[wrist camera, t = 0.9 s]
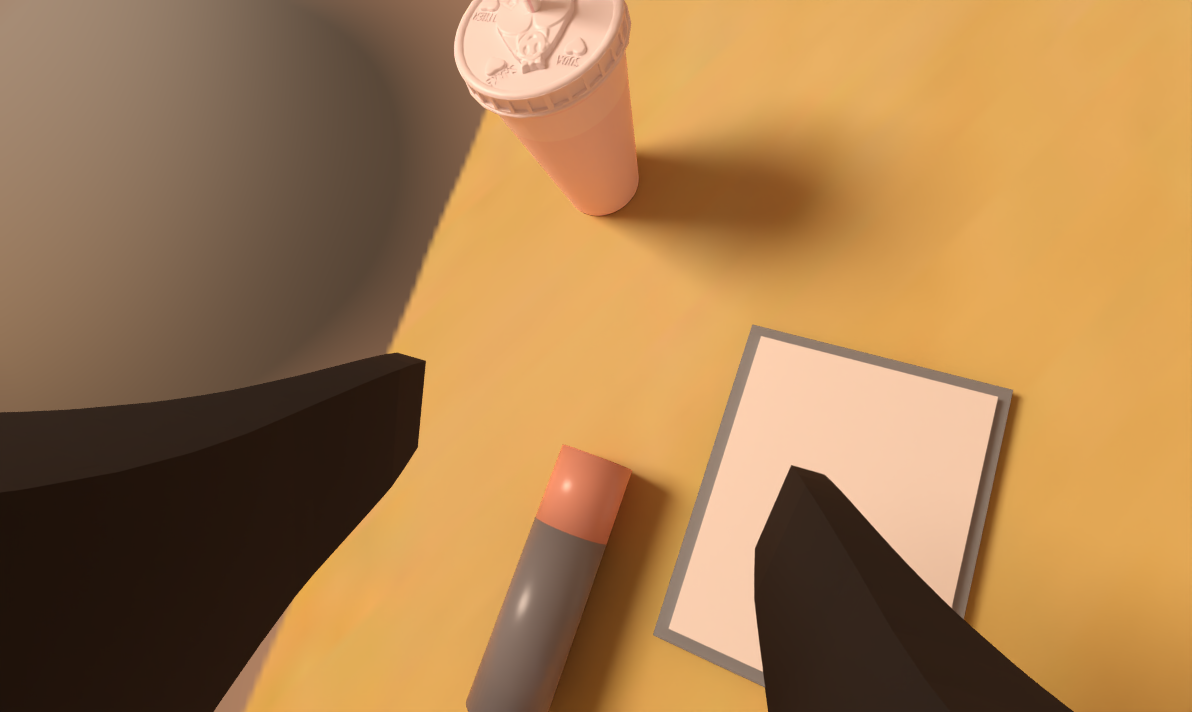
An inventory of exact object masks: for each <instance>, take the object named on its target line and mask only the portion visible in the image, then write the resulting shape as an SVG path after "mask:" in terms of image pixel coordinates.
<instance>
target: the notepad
mask: <svg viewBox="0 0 1192 712" xmlns="http://www.w3.org/2000/svg"><path fill="white" fill-rule="evenodd" d="M1012 393H1013V390H1011V389H1007V388H1003V387H999V386H995V385H991V384H987V383H983V382H979V381H975V380H971V379H967V378H963V377H959V376H955V375H951V374H947V373H943V372H939V371H935V370H931V369H927V368H923V367H919V366H915V365H911V364H907V363H903V362H899V361H896V360H892V359H888V358H884V357H880V356H876V355H872V354H868V353H864V352H860V351H856V350H852V349H848V348H844V347H840V346H836V345H832V344H828V343H824V342H820V341H816V340H812V339H808V338H804V337H800V336H796V335H792V334H788V333H784V332H780V331H776V330H772V329H768V328H764V327H760V326H756V325H752V328H751V331H750V334H749V337H748V340H747V343H746V346H745V350H744V353H743V356H742V359H741V362H740V365H739V368H738V371H737V374H736V378H735V381H734V384H733V387H732V390H731V393H730V396H729V399H728V402H727V406H726V409H725V412H724V415H723V418H722V421H721V424H720V427H719V431H718V434H717V437H716V440H715V443H714V446H713V449H712V452H711V455H710V459H709V462H708V465H707V468H706V471H705V474H704V477H703V480H702V484H701V487H700V490H699V493H698V496H697V499H696V502H695V505H694V508H693V512H692V515H691V518H690V521H689V524H688V527H687V530H686V533H685V537H684V540H683V543H682V546H681V549H680V552H679V555H678V558H677V561H676V565H675V568H674V571H673V574H672V577H671V580H670V583H669V586H668V589H667V593H666V596H665V599H664V602H663V605H662V608H661V611H660V614H659V618H658V621H657V624H656V627H655V630H654V633H653V635H654V636H656V637H658V638H660V639H663V640H665V641H667V642H669V643H671V644H673V645H675V646H678V647H680V648H682V649H684V650H686V651H688V652H690V653H693V654H695V655H697V656H699V657H701V658H703V659H705V660H708V661H710V662H712V663H714V664H716V665H718V666H720V667H723V668H725V669H727V670H729V671H731V672H733V673H735V674H738V675H740V676H742V677H744V678H746V679H748V680H750V681H753V682H755V683H757V684H759V685H761V686H763V687H765V683H764V675H763V667H762V660H761V652H760V644H759V636H758V628H757V619H756V611H755V602H754V560H755V547H756V545H757V542H758V540H759V538H760V535H761V533H762V531H763V528H764V526H765V524H766V522H767V519H768V517H769V515H770V512H771V510H772V508H773V506H774V503H775V501H776V499H777V496H778V494H779V492H780V490H781V487H782V485H783V483H784V480H785V478H786V476H787V474H788V471H789V469H790V467H791V465H793V466H797V467H800V468H804V469H807V470H811V471H814V472H818V473H821V474H824V475H826V476H827V477H828V478H829V479H830V480H831V481H832V482H833V483H834V484H835V485H836V486H837V487H838V488H839V489H840V490H841V491H842V492H843V494H844V495H845V496H846V497H847V498H848V499H849V500H850V501H851V502H852V503H853V505H854V506H855V507H856V508H857V509H858V510H859V511H860V512H861V514H862V515H863V516H864V517H865V518H866V519H867V520H868V521H869V523H870V524H871V525H872V526H873V527H874V528H875V529H876V530H877V531H878V533H879V534H880V535H881V536H882V537H883V538H884V539H885V540H886V541H887V542H888V544H889V545H890V546H891V547H892V548H893V549H894V550H895V551H896V552H897V553H898V554H899V555H900V556H901V558H902V559H903V560H904V561H905V562H906V563H907V564H908V565H909V566H910V567H911V568H912V569H913V570H914V571H915V572H916V573H917V574H918V575H919V576H920V577H921V578H922V579H923V580H924V581H925V582H926V583H927V584H928V585H929V586H930V587H931V588H932V589H933V590H934V591H935V592H936V593H937V594H938V595H939V596H940V597H941V598H942V599H943V600H944V601H945V602H946V603H947V604H948V605H949V606H950V607H951V608H952V609H953V610H954V611H955V612H956V613H957V614H958V615H959V616H960V617H961V618H963V619H964V616H965V611H966V607H967V602H968V597H969V593H970V588H971V583H972V579H973V574H974V569H975V565H976V560H977V555H978V551H979V546H980V542H981V537H982V532H983V528H984V523H985V518H986V514H987V509H988V504H989V500H990V495H991V490H992V486H993V481H994V476H995V472H996V467H997V463H998V458H999V453H1000V449H1001V444H1002V439H1003V435H1004V430H1005V425H1006V421H1007V416H1008V411H1009V407H1010V402H1011V397H1012Z"/></svg>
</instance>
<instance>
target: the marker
mask: <svg viewBox="0 0 1192 712" xmlns="http://www.w3.org/2000/svg"><path fill="white" fill-rule="evenodd" d="M631 473H632V470H630V469H628V468H626V467H623V466H621V465H618V464H616V463H613V462H611V461H608V460H605V459H603V458H600V457H597V456H595V455H592V454H589V453H587V452H584V451H581V450H578V449H575V448H573V447H570V446H567V445H562V448H561V451H560V453H559V456H558V459H557V461H556V464H555V466H554V469H553V472H552V474H551V477H550V480H549V482H548V485H547V488H546V490H545V493H544V496H543V498H542V501H541V504H540V506H539V509H538V512H537V514H536V517H535V520H534V522H533V525H532V528H531V530H530V533H529V536H528V538H527V541H526V544H525V546H524V549H523V552H522V554H521V557H520V560H519V562H518V565H517V568H516V570H515V573H514V575H513V578H512V581H511V583H510V586H509V589H508V591H507V594H506V597H505V599H504V602H503V605H502V607H501V610H500V613H499V615H498V618H497V621H496V623H495V626H494V629H493V631H492V634H491V637H490V639H489V642H488V645H487V647H486V650H485V653H484V655H483V658H482V661H481V663H480V666H479V669H478V671H477V674H476V676H475V679H474V682H473V684H472V687H471V690H470V692H469V695H468V698H467V701H466V707H467V709H468V711H469V712H548V711H549V709H550V706H551V703H552V700H553V697H554V694H555V691H556V688H557V686H558V683H559V680H560V677H561V674H562V671H563V668H564V665H565V663H566V660H567V657H568V654H569V651H570V648H571V645H572V642H573V640H574V637H575V634H576V631H577V628H578V625H579V622H580V619H581V617H582V614H583V611H584V608H585V605H586V602H587V599H588V596H589V593H590V591H591V588H592V585H593V582H594V579H595V576H596V573H597V570H598V568H599V565H600V562H601V559H602V556H603V553H604V550H605V547H606V545H607V542H608V539H609V536H610V533H611V530H612V527H613V524H614V522H615V519H616V516H617V513H618V510H619V507H620V504H621V501H622V499H623V496H624V493H625V490H626V487H627V484H628V481H629V478H630V475H631Z"/></svg>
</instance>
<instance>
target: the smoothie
mask: <svg viewBox="0 0 1192 712" xmlns="http://www.w3.org/2000/svg"><path fill="white" fill-rule="evenodd" d="M630 28H631V21H630V16H629V11H628V7H627V4H626V3H625V1H624V0H473V1H472V3H471V4H470V5H469V7H468V9H467V10H466V12H465V13H464V15H463V17H462V19H461V22H460V24H459V27H458V30H457V33H456V37H455V44H454V55H455V61H456V65H457V67H458V70H459V72H460V74H461V75H462V77H463V78H464V80H465V82H466V84H467V86H468V89H469V91H470V93H471V95H472V96H473V97H474V98H475V99H476V100H477V101H478V102H479V103H480V104H481V105H482V106H483V107H484V108H486V109H488V110H490V111H492V112H494V113H496V114H498V115H499V116H500V117H501V118H502V120H503V121H504V122H505V123H506V125H507V126H508V127H509V128H510V129H511V130H512V131H513V133H514V134H515V135H516V136H517V137H518V139H519V140H520V141H521V142H522V143H523V145H524V146H525V147H526V148H527V149H528V151H529V152H530V153H531V154H532V155H533V157H534V158H535V159H536V160H537V161H538V163H539V164H540V165H541V166H542V167H543V169H544V170H545V171H546V172H547V174H548V175H549V176H550V177H551V178H552V180H553V181H554V182H555V183H556V184H557V186H558V187H559V188H560V189H561V190H562V192H563V193H564V194H565V195H566V196H567V198H568V199H569V200H570V201H571V202H572V204H573V205H574V206H575V207H576V208H577V209H578V210H580V211H581V212H583V213H585V214H589V215H594V216H601V215H607V214H611V213H613V212H615V211H618V210H619V209H621V208H622V207H624V206H625V205H626V204H627V203H628V202H629V201H630V200H631V199H632V197H633V196H634V194H635V192H636V190H637V187H638V183H639V174H638V165H637V156H636V146H635V137H634V128H633V119H632V110H631V100H630V91H629V82H628V73H627V61H626V53H625V50H626V48H627V46H628V43H629V36H630Z"/></svg>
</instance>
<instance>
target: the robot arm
mask: <svg viewBox="0 0 1192 712" xmlns="http://www.w3.org/2000/svg"><path fill="white" fill-rule="evenodd" d="M425 364H426V361H424V360H421V359H417V358H414V357H410V356H407V355H403V354H400V353H391V354H385V355H380V356H375V357H371V358H366V359H362V360H358V361H354V362H350V363H347V364H342V365H339V366H335V367H331V368H327V369H323V370H319V371H315V372H311V373H307V374H303V375H300V376H295V377H291V378H286V379H281V380H277V381H273V382H268V383H263V384H259V385H254V386H250V387H245V388H241V389H236V390H231V391H225V392H219V393H213V394H208V395H201V396H195V397H188V398H181V399H174V400H167V401H159V402H151V403H141V404H129V405H117V406H107V407H96V408H84V409H72V410H54V411H32V412H7V413H6V412H2V413H0V712H214V710H215V709H216V707H217V706H218V704H219V703H220V701H221V700H222V698H223V697H224V695H225V694H226V693H227V691H228V690H229V688H230V687H231V685H232V684H233V682H234V681H235V680H236V678H237V677H238V675H239V674H240V672H241V671H242V670H243V668H244V667H245V665H246V664H247V662H248V661H249V659H250V658H251V657H252V655H253V654H254V652H255V651H256V649H257V648H258V646H259V645H260V643H261V642H262V641H263V640H264V638H265V637H266V636H267V634H268V633H269V631H270V630H271V629H272V627H273V626H274V625H275V623H276V622H277V621H278V619H279V618H280V617H281V615H282V614H283V612H284V611H285V610H286V608H287V607H288V606H289V604H290V603H291V602H292V600H293V599H294V597H295V596H296V595H297V594H298V592H299V591H300V590H301V589H302V588H303V586H304V585H305V584H306V583H307V582H308V580H309V579H310V578H311V577H312V575H313V574H314V573H315V572H316V571H317V570H318V569H319V568H320V566H321V565H322V564H323V563H324V562H325V561H326V560H327V559H328V558H329V556H330V555H331V554H332V553H333V552H334V551H335V550H336V549H337V548H338V546H339V545H340V544H341V543H342V542H343V541H344V540H345V539H346V538H347V536H348V535H349V534H350V533H351V532H352V531H353V530H354V529H355V528H356V526H357V525H358V524H359V523H360V522H361V521H362V520H363V519H364V518H365V516H366V515H367V514H368V513H369V512H370V511H371V510H372V509H373V507H374V506H375V505H376V504H377V503H378V502H379V501H380V499H381V498H382V497H383V496H384V495H385V494H386V493H387V491H388V490H389V489H390V488H391V487H392V485H393V484H394V482H395V481H396V479H397V478H398V477H399V475H400V474H401V472H402V471H403V469H404V468H405V466H406V465H407V463H408V462H409V460H410V459H411V457H412V455H413V454H414V452H415V451H416V449H417V448H418V438H419V428H420V417H421V406H422V396H423V385H424V375H425ZM754 602H755V611H756V619H757V628H758V636H759V644H760V652H761V660H762V667H763V675H764V683H765V691H766V698H767V706H768V712H1073V711H1072V710H1071V709H1069V708H1068V707H1067V706H1066V705H1064V704H1063V703H1062V702H1060V701H1059V700H1058V699H1057V698H1055V697H1054V696H1053V695H1051V694H1050V693H1049V692H1048V691H1046V690H1045V689H1044V688H1042V687H1041V686H1040V685H1039V684H1038V683H1036V682H1035V681H1034V680H1033V679H1031V678H1030V677H1029V676H1028V675H1027V674H1025V673H1024V672H1023V671H1022V670H1021V669H1019V668H1018V667H1017V666H1016V665H1015V664H1013V663H1012V662H1011V661H1010V660H1009V659H1008V658H1006V657H1005V656H1004V655H1003V654H1002V653H1001V652H1000V651H998V650H997V649H996V648H995V647H994V646H993V645H992V644H991V643H989V642H988V641H987V640H986V639H985V638H984V637H983V636H981V635H980V634H979V633H978V632H977V631H976V630H975V629H973V628H972V627H971V626H970V625H969V624H968V623H967V622H966V621H965V620H964V619H963V618H961V617H960V616H959V615H958V614H957V613H956V612H955V611H954V610H953V609H952V608H951V607H950V606H949V605H948V604H947V603H946V602H945V601H944V600H943V599H942V598H941V597H940V596H939V595H938V594H937V593H936V592H935V591H934V590H933V589H932V588H931V587H930V586H929V585H928V584H927V583H926V582H925V581H924V580H923V579H922V578H921V577H920V576H919V575H918V574H917V573H916V572H915V571H914V570H913V569H912V568H911V567H910V566H909V565H908V564H907V563H906V562H905V561H904V560H903V559H902V558H901V556H900V555H899V554H898V553H897V552H896V551H895V550H894V549H893V548H892V547H891V546H890V545H889V544H888V542H887V541H886V540H885V539H884V538H883V537H882V536H881V535H880V534H879V533H878V531H877V530H876V529H875V528H874V527H873V526H872V525H871V524H870V523H869V521H868V520H867V519H866V518H865V517H864V516H863V515H862V514H861V512H860V511H859V510H858V509H857V508H856V507H855V506H854V505H853V503H852V502H851V501H850V500H849V499H848V498H847V497H846V496H845V495H844V494H843V492H842V491H841V490H840V489H839V488H838V487H837V486H836V485H835V484H834V483H833V482H832V481H831V480H830V479H829V478H828V477H827V476H826V475H824V474H821V473H818V472H814V471H811V470H807V469H804V468H800V467H797V466H793V465H791V467H790V469H789V471H788V474H787V476H786V478H785V480H784V483H783V485H782V487H781V490H780V492H779V494H778V496H777V499H776V501H775V503H774V506H773V508H772V510H771V512H770V515H769V517H768V519H767V522H766V524H765V526H764V528H763V531H762V533H761V535H760V538H759V540H758V542H757V545H756V547H755V560H754Z"/></svg>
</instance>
